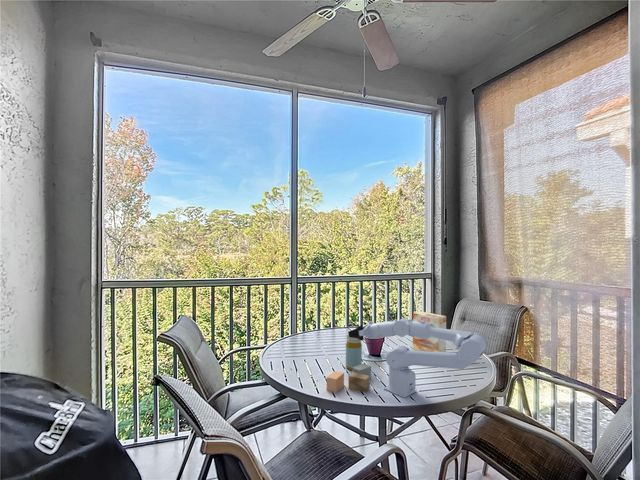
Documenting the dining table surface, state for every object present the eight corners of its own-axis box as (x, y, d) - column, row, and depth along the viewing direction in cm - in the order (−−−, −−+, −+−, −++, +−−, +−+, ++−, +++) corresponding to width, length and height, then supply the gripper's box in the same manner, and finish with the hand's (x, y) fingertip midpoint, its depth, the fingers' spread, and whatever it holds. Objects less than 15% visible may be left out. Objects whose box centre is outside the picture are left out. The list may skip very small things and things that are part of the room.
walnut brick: (369, 388, 130) (369, 375, 130) (365, 392, 126) (365, 379, 126) (352, 384, 133) (352, 372, 133) (348, 388, 130) (348, 375, 130)
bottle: (363, 366, 152) (364, 333, 151) (357, 372, 145) (357, 337, 145) (349, 363, 155) (350, 331, 155) (343, 368, 149) (343, 334, 149)
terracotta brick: (334, 383, 134) (334, 370, 134) (343, 385, 132) (344, 372, 132) (326, 390, 128) (326, 377, 128) (336, 392, 126) (336, 379, 126)
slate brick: (363, 375, 143) (363, 363, 143) (370, 378, 140) (370, 366, 140) (352, 379, 138) (352, 367, 138) (359, 382, 135) (359, 370, 135)
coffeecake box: (412, 350, 174) (412, 312, 174) (419, 347, 179) (420, 310, 179) (438, 358, 163) (439, 317, 163) (446, 354, 168) (446, 315, 168)
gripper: (389, 317, 140) (362, 322, 148) (370, 321, 128) (342, 325, 137) (392, 335, 138) (365, 338, 146) (374, 340, 127) (345, 343, 135)
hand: (354, 333), depth 141 cm, fingers open, 7 cm apart
